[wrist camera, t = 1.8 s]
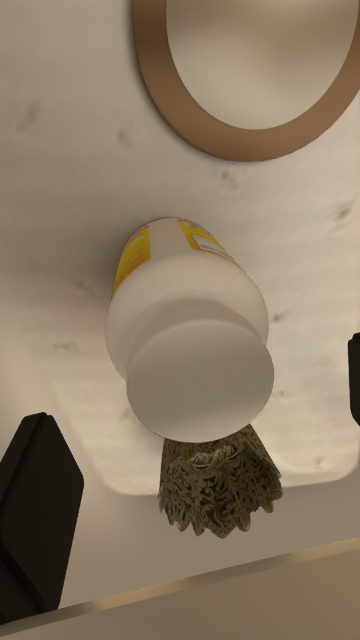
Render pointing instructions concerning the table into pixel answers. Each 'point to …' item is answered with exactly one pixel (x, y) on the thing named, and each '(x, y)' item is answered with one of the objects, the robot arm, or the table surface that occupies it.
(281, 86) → the plate
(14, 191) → the table surface
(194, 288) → the supplement bottle
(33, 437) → the robot arm
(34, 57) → the table surface
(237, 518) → the brown scalloped shell
